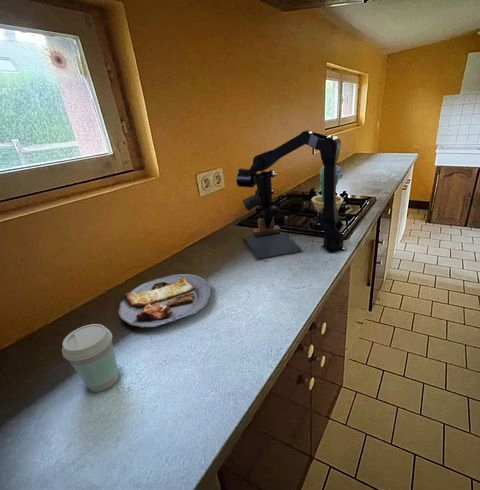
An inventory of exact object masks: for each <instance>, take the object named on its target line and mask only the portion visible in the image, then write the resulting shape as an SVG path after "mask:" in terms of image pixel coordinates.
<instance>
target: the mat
mask: <svg viewBox="0 0 480 490" xmlns="http://www.w3.org/2000/svg"><path fill="white" fill-rule="evenodd" d="M244 241H245V242H246V243H247V245H248V247H249V248H250V250H251V252H252V253H253V255H254V257H255V259H256V260H258V261H259V260H263V259H264V260H265V259H270V258H276V257H280V256H286V255H291V254H297V253H302V250H301V249H300V248H299V247H298V246H297V244H295V243H294V242H293V241H292V239H290V238H289V236H288V235H287V234H286V233H285V232H284V231H281V232H280V234H278V235H272V236H266V237H260V238H255V237H254V236H250V237H244Z"/></svg>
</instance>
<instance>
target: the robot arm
mask: <svg viewBox="0 0 480 490" xmlns="http://www.w3.org/2000/svg"><path fill="white" fill-rule="evenodd" d="M305 145H306V146H308V147H310V148H313V149H315V150H317V151H319V152H320V153H319V154H320V159H321V163H322V166H323V165H324V207H323V208H322V209H321V210H320V211H319V213H318V212H317V216H318V222H317V224H319V227H320V229H321V230H322V231H323V233H324V236H323V241H322V242H323V244H322V248H323V249H325V250H326V251H327V252H328V253H330V254H332V253H337V252H341V251H345V250H346V248H345V247H344V239H345V237H344V236H345V233H344V232H343V230H344V228H345V224H344V223H343V221H341V219H340V214H339V210H337V207H336V196H337V185H336V165H337V164H338V162H339V161H338V160H339V157H340V153H341V148H342V141H341V139H340V138H339V137H338V136H337V135H333V134H332V135H326V134H323V133H318V132H314V131H312V130H310V129H307V130H303V131H301V133H299V134H298V135H296V136H295V137H293V138H291V139H289V140H287V141H286V142H284V143H282V144H281V145H279V146H277V147H276V148H274V149H270V150H267V151H264V152H262V153H259V154H256V155H255V156H254V157H252V158H253V159H252V164H251V166H250V168H238V173H237V176H236V179H235V181H236V185H237V187H240V188H254V187H255V186H256V190H255V191H254V194H253V195H250V196H248V197H247V198H244V199H243V200H242V203H243V205H244V208H245V210H246V211H248V212H249V211H252V210H253V209H255V210H256V211H257V212H259V214H260V218H264V221H265V226H266V228H269V226H270V224H271V221H272V219H273V218H274V217H279V216H281V209H280V208H279V207H278V206H276V205H275V201H274V200H273V195H274V194H275V193H274V190H273V182H272V181H273V180H272V178H275V177H276V176H278V174H277V173H276V172H275V171H274V170H273V169H270V168H271V167H273V166H274V165H275V164H276V163H277V162H278V161H279V160H280V159H282V158H283V157H285V156H287V155H289V154H290V153H292V152H294V151H296V150H298V149H299V148H301V147H303V146H305ZM337 166H338V165H337ZM267 169H269V170H268V171H267ZM259 172H260V173H259Z"/></svg>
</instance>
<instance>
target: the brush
mask: <svg viewBox="0 0 480 490" xmlns="http://www.w3.org/2000/svg"><path fill="white" fill-rule="evenodd" d="M257 227H258V228H252V229H251V233H252V235H253V237H255V238H260V237H266V236H272V235H278V234H280V232H282V230H281V227H280V226H279V225H278V224H276V225H275V219H274V217H273V219H272V221H271V224H270V226H269V228H266V226H265V221H264V218H262V217H260V218H257Z"/></svg>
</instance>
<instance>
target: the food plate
mask: <svg viewBox="0 0 480 490" xmlns="http://www.w3.org/2000/svg"><path fill="white" fill-rule="evenodd" d="M210 296H211V288H210V285H209V284H208V281H206V279H205V278H202V277H200V276H198V275H195V274H189V273H182V274H170V275H169V274H168V275H165V276H161V277H158V278H155V279H152V280H149V281H147V282H144V283H142V284H140V285H138V286H137V287H135V288H133V289H132V290H131V291H130V292H129V291H128V292H126V293H124V295H123V299H122V301H120V302H119V306H118V309H117V314H118V317H119V320H121V321H122V322H124V323H125V324H127V325H128V326H129V327H135V328H136V329H139V328H140V329H143V328H145V327H146V328H147V329H152V328H156V327H159V326H162V325H166V324H170V323H174V322H176V321H178V320H181V319H184V318H185V317H188V316H193V315H196V314H197V313H199V312H200V311H201V310H202V309H204V307H205V306H206V305H207V304H208V299H209V298H210Z"/></svg>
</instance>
